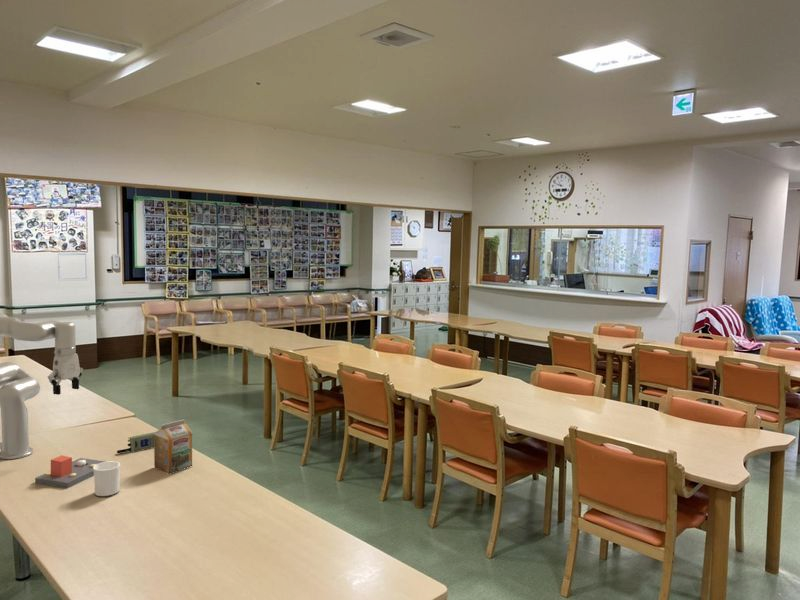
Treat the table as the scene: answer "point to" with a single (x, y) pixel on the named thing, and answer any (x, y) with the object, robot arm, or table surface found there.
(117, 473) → the mug
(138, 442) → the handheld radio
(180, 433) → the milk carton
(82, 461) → the white egg
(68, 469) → the cap
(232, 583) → the table surface
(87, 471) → the panel
